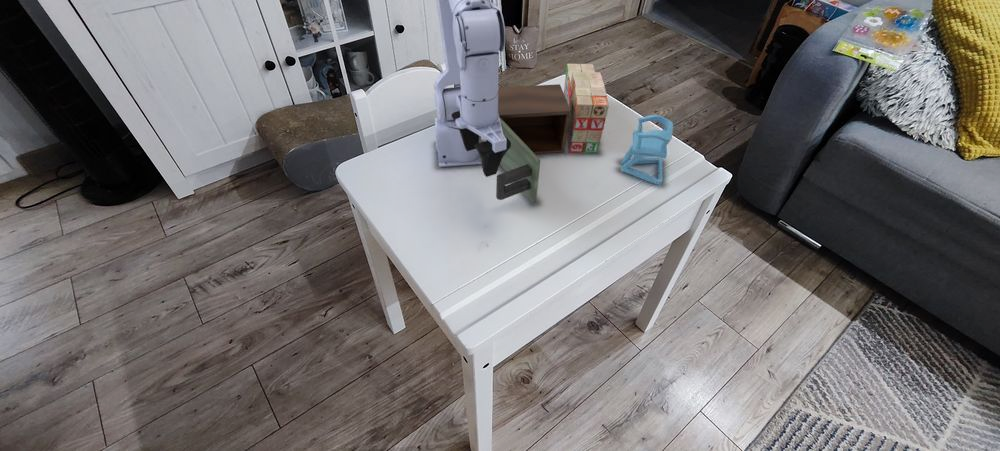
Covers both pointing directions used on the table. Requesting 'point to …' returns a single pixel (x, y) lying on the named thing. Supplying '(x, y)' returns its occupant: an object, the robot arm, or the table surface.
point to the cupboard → (536, 116)
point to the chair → (648, 148)
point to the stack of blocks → (585, 107)
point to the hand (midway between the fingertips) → (480, 161)
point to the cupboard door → (517, 169)
